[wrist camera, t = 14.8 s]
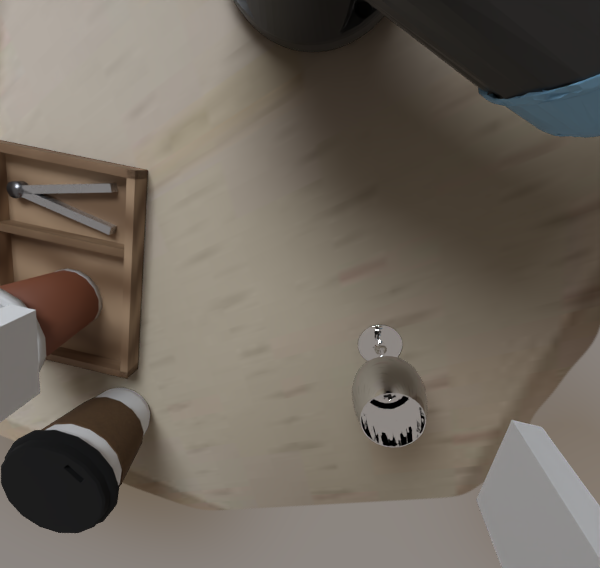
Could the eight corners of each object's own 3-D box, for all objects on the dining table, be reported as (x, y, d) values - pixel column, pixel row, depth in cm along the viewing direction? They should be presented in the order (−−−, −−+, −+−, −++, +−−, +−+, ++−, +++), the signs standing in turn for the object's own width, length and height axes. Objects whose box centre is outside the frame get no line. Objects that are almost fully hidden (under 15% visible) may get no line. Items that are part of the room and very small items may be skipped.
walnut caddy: (1, 140, 37) (-20, 139, 35) (147, 170, 36) (135, 170, 34) (15, 339, 44) (-2, 348, 42) (137, 368, 43) (127, 378, 41)
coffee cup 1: (106, 256, 39) (4, 294, 27) (121, 337, 41) (35, 403, 30) (25, 255, 40) (-104, 292, 28) (45, 334, 42) (-65, 397, 31)
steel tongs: (17, 212, 38) (8, 213, 37) (14, 161, 37) (4, 161, 36) (116, 233, 38) (110, 235, 37) (117, 183, 36) (111, 184, 35)
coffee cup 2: (120, 351, 43) (37, 420, 31) (188, 417, 44) (133, 505, 33) (66, 400, 46) (-28, 479, 34) (131, 461, 47) (62, 554, 36)
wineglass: (419, 355, 38) (448, 436, 27) (368, 378, 40) (376, 464, 28) (392, 308, 37) (411, 373, 26) (341, 334, 39) (337, 405, 27)
